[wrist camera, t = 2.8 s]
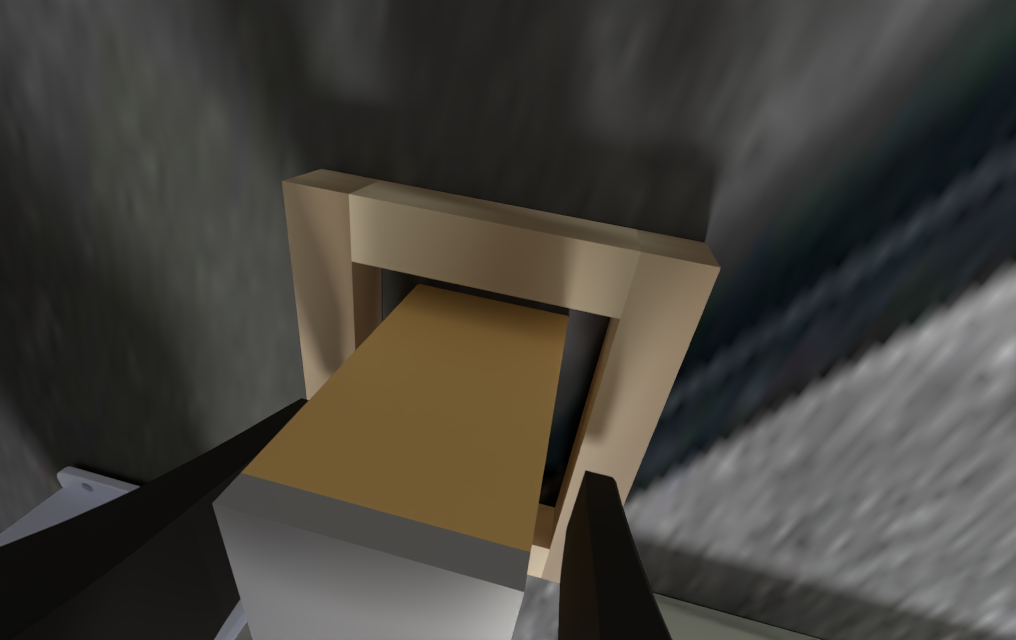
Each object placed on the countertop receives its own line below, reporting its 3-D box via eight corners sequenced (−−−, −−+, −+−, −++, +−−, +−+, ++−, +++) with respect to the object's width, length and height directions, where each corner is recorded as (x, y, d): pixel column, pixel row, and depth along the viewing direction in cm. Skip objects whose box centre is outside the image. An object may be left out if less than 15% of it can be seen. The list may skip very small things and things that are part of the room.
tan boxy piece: (411, 446, 14) (273, 707, 8) (418, 283, 12) (213, 502, 6) (530, 477, 14) (473, 773, 8) (568, 315, 11) (523, 591, 5)
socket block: (343, 480, 16) (320, 516, 15) (321, 168, 10) (282, 180, 9) (589, 547, 15) (588, 591, 14) (704, 242, 10) (720, 267, 8)
